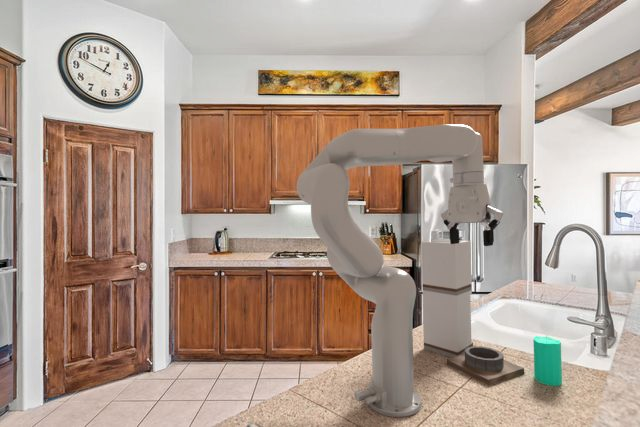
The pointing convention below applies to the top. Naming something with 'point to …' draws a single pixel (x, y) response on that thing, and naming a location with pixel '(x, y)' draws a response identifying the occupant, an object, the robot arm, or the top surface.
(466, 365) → the candle stand
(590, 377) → the top surface
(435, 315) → the tall banded pillar
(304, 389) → the top surface
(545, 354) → the candle
